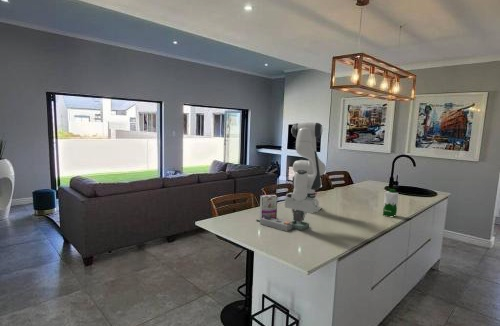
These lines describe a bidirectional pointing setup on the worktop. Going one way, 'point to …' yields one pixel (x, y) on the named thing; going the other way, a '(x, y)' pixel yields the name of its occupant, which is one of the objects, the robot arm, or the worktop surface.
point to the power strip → (275, 223)
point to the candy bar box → (268, 206)
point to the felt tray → (299, 225)
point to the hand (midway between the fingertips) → (298, 216)
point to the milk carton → (390, 203)
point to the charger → (298, 216)
